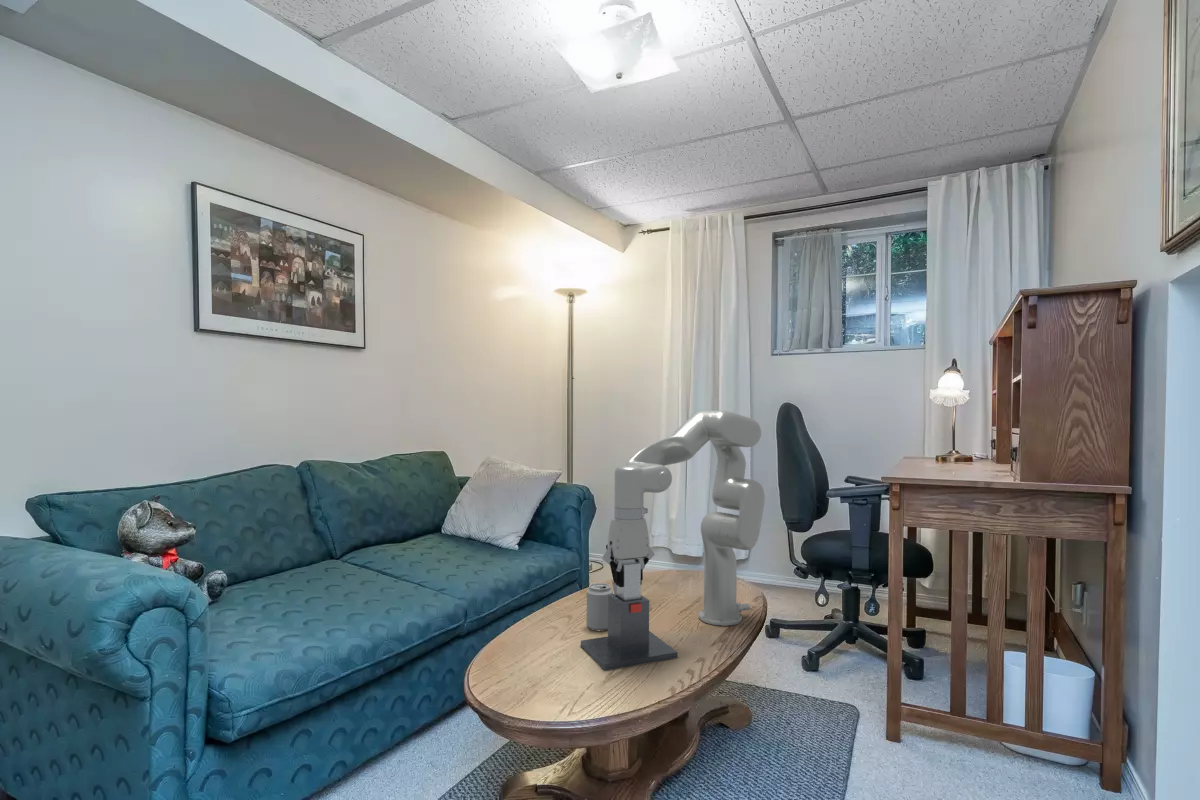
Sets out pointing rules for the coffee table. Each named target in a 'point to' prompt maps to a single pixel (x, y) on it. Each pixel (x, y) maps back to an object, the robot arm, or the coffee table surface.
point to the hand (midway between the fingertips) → (628, 584)
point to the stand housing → (627, 637)
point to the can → (598, 606)
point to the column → (630, 581)
